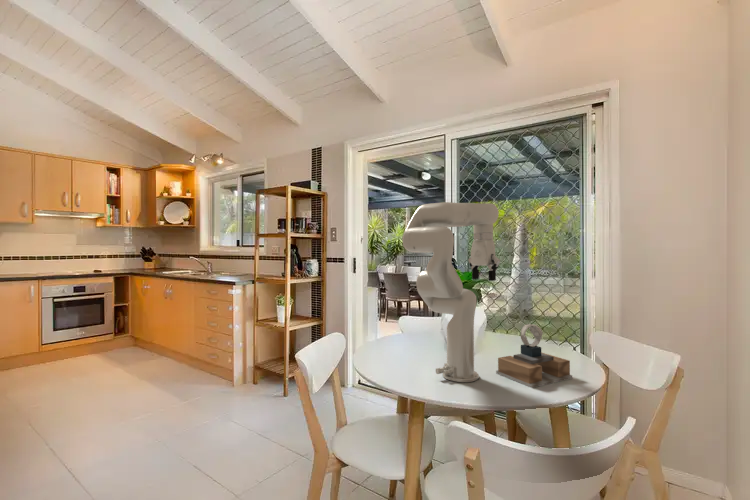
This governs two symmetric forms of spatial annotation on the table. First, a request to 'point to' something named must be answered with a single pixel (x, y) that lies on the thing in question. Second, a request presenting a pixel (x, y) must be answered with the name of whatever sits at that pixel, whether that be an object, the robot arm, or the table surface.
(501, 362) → the watch stand
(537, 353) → the watch
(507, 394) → the table surface
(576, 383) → the table surface
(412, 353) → the table surface
